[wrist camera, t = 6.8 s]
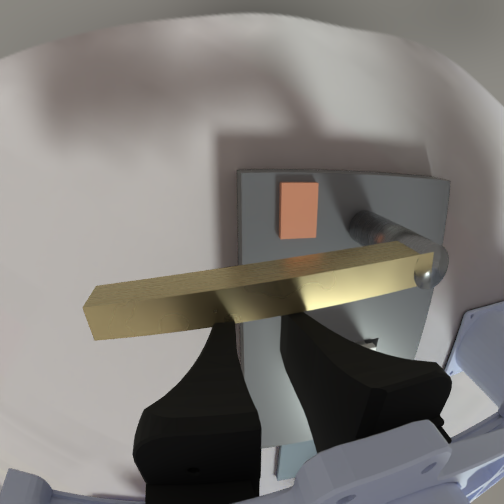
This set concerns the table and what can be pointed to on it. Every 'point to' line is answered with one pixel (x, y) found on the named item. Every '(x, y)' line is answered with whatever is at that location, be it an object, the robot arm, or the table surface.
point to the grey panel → (319, 241)
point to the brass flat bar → (271, 284)
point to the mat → (294, 458)
